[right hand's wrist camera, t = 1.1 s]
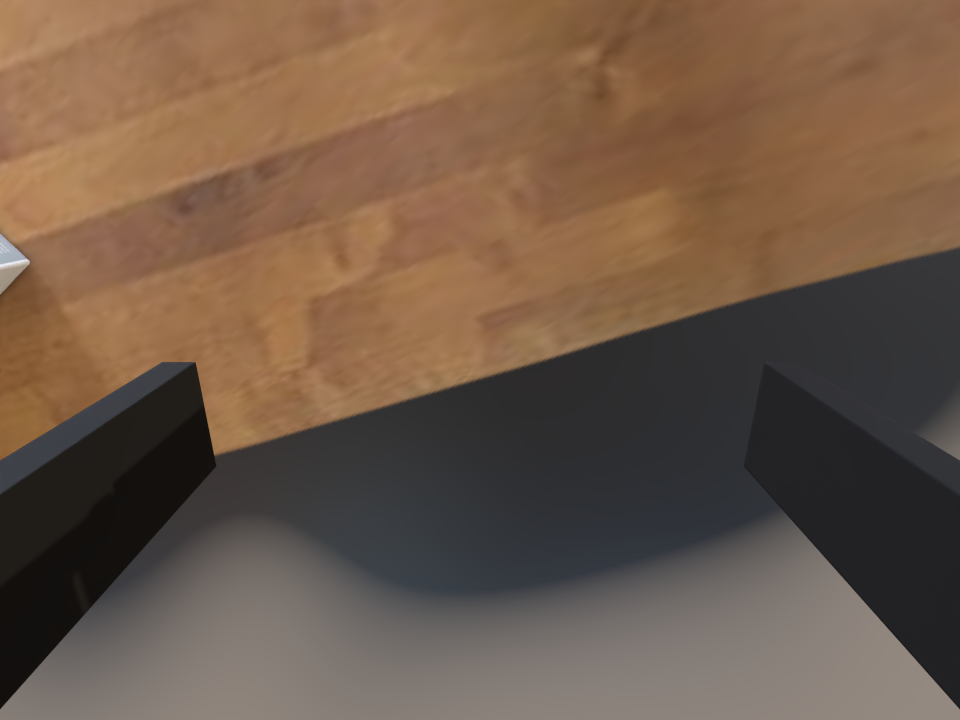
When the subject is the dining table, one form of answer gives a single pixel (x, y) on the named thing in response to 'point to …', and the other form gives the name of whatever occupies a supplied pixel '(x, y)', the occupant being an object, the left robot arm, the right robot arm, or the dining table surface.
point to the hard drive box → (10, 263)
